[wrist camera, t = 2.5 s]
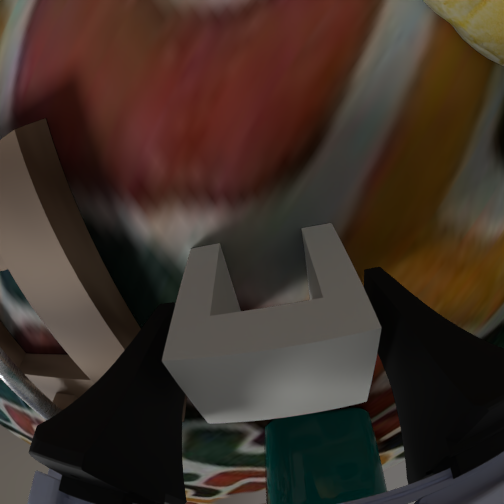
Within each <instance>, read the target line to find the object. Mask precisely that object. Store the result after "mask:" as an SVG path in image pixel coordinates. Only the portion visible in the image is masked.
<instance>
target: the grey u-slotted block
mask: <svg viewBox="0 0 504 504" xmlns="http://www.w3.org/2000/svg"><path fill="white" fill-rule="evenodd" d="M301 230H302V237H303V245H304V253H305V261H306V269H307V278H308V286H309V296H310V300H307V301H301V302H295V303H290V304H284V305H278V306H272V307H266V308H260V309H254V310H247V311H241V309H240V306H239V303H238V300H237V297H236V294H235V290H234V287H233V284H232V281H231V278H230V274H229V271H228V268H227V265H226V261H225V258H224V255H223V252H222V248H221V245H220V243H217V244H212V245H207V246H202V247H196V248H191V250H190V254H189V257H188V261H187V264H186V268H185V271H184V275H183V278H182V282H181V286H180V289H179V293H178V297H177V301H176V304H175V308H174V312H173V316H172V320H171V324H170V328H169V332H168V336H167V340H166V344H165V349H164V353H163V357H162V362H163V364H164V365H165V367H166V368H167V369H168V371H169V372H170V374H171V375H172V377H173V378H174V379H175V381H176V382H177V383H178V385H179V386H180V388H181V389H182V390H183V392H184V393H185V394H186V396H187V397H188V398H189V400H190V401H191V402H192V403H193V405H194V406H195V407H196V409H197V410H198V411H199V412H200V414H201V415H202V416H203V417H204V419H205V420H206V421H207V422H208V424H216V423H234V422H248V421H258V420H268V419H276V418H284V417H291V416H298V415H304V414H310V413H316V412H322V411H327V410H332V409H337V408H342V407H346V406H351V405H355V404H359V403H363V402H367V399H368V395H369V390H370V386H371V382H372V377H373V372H374V367H375V362H376V357H377V352H378V346H379V340H380V334H381V325H380V323H379V321H378V318H377V316H376V314H375V312H374V309H373V307H372V305H371V303H370V300H369V298H368V296H367V294H366V292H365V289H364V287H363V285H362V283H361V281H360V279H359V277H358V275H357V273H356V270H355V268H354V266H353V264H352V262H351V260H350V258H349V256H348V254H347V252H346V250H345V248H344V246H343V244H342V242H341V240H340V238H339V236H338V234H337V232H336V231H335V229H334V227H333V225H332V223H327V224H322V225H316V226H310V227H305V228H301Z"/></svg>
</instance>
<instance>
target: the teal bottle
mask: <svg viewBox="0 0 504 504" xmlns="http://www.w3.org/2000/svg"><path fill="white" fill-rule="evenodd" d="M264 456H265V481H266V504H339V503H344V502H349V501H353V500H358V499H362V498H366V497H370V496H373V495H377V494H381V493H384V492H387V489H386V484H385V479H384V474H383V469H382V465H381V460H380V456H379V452H378V447H377V443H376V439H375V435H374V431H373V427H372V423H371V419H370V415H369V412H368V411H367V410H364V409H362V408H358V407H351V408H344V409H337V410H329V411H322V412H316V413H310V414H304V415H298V416H291V417H284V418H276V419H273V420H272V421H271V422H269V423H268V424H267V425H266V427H265V442H264Z"/></svg>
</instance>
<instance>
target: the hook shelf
mask: <svg viewBox="0 0 504 504" xmlns="http://www.w3.org/2000/svg"><path fill="white" fill-rule="evenodd" d="M6 269H9V271H10V273H11V274H12V276H13V278H14V279H15V281H16V283H17V284H18V286H19V288H20V289H21V291H22V292H23V294H24V295H25V297H26V298H27V300H28V301H29V303H30V304H31V306H32V307H33V309H34V310H35V312H36V313H37V315H38V316H39V317H40V319H41V320H42V321H43V323H44V324H45V326H46V327H47V328H48V330H49V331H50V332H51V334H52V335H53V336H54V337H55V339H56V340H57V341H58V343H59V344H60V345H61V346H62V347H63V349H64V350H65V351H66V352H67V354H68V355H58V354H29V353H25V351H24V350H23V349H22V348H21V347H20V345H19V344H18V343H17V342H16V341H15V339H14V338H13V337H12V336H11V334H10V333H9V332H8V330H7V329H6V328H5V326H4V325H3V324H2V322H1V321H0V347H1V349H2V350H3V351H4V352H5V353H6V355H7V356H8V357H9V358H10V359H11V360H12V361H13V363H14V364H15V365H16V366H17V367H18V368H19V369H20V370H21V371H22V372H23V373H24V374H25V375H26V376H27V378H28V379H29V380H30V381H31V382H32V383H33V384H34V385H35V386H36V387H37V388H38V389H39V390H41V391H42V392H43V393H44V394H45V395H46V396H47V397H48V398H49V399H50V400H51V401H52V402H53V403H55V404H56V405H57V406H58V407H59V408H60V409H61V410H63V409H65V408H66V407H68V406H69V405H70V404H71V403H73V402H74V401H75V400H77V399H78V398H79V397H80V396H81V395H82V394H84V393H85V392H86V391H87V390H88V389H89V388H90V387H91V386H92V385H94V384H95V383H96V382H97V381H98V380H99V379H100V378H101V377H102V376H103V375H104V374H105V373H106V372H107V370H108V369H109V368H110V367H111V366H112V365H113V364H114V363H115V361H116V360H117V359H118V358H119V357H120V355H121V354H122V353H123V352H124V350H125V349H126V348H127V347H128V346H129V344H130V343H131V342H132V340H133V339H134V338H135V336H136V335H137V334H138V332H139V331H140V330H141V328H140V327H139V325H138V323H137V322H136V320H135V318H134V317H133V315H132V313H131V312H130V310H129V308H128V307H127V305H126V303H125V301H124V300H123V298H122V296H121V294H120V293H119V291H118V289H117V287H116V285H115V283H114V282H113V280H112V278H111V276H110V274H109V272H108V270H107V268H106V267H105V265H104V263H103V261H102V259H101V257H100V255H99V253H98V251H97V249H96V247H95V245H94V242H93V240H92V238H91V236H90V234H89V232H88V230H87V228H86V225H85V223H84V221H83V219H82V216H81V214H80V212H79V209H78V207H77V205H76V202H75V200H74V198H73V195H72V193H71V190H70V188H69V185H68V183H67V180H66V177H65V175H64V172H63V169H62V167H61V164H60V161H59V158H58V155H57V152H56V149H55V146H54V143H53V140H52V137H51V134H50V131H49V128H48V124H47V121H46V118H45V119H42V120H39V121H36V122H33V123H31V124H28V125H25V126H22V127H20V128H17V129H15V130H13V131H12V132H10V133H9V134H7V135H6V136H5V137H3V138H2V139H1V140H0V271H3V270H6ZM186 402H187V396H186V394H185V399H184V406H183V414H182V422H184V417H185V410H186Z"/></svg>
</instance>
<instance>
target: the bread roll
mask: <svg viewBox="0 0 504 504" xmlns="http://www.w3.org/2000/svg"><path fill="white" fill-rule="evenodd" d="M423 1H424V2H425V3H426V4H427V5H428V6H429V7H430V8H431V9H432V10H433V11H434V12H435V13H436V14H438V15H439V16H440V17H442V18H443V19H445V20H446V21H447V22H449V23H450V24H451V25H452V26H453V27H454V29H455V30H456V32H457V33H458V34H459V35H460V36H461V38H462V39H463V40H464V41H466V42H467V43H468V44H469V45H470V46H471V47H472V48H474V49H475V50H476V51H477V52H479V53H480V54H482V55H483V56H485V57H486V58H488V59H489V60H492V61H494V62H496V63H498V64H499V65H501V66H504V0H423Z"/></svg>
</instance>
